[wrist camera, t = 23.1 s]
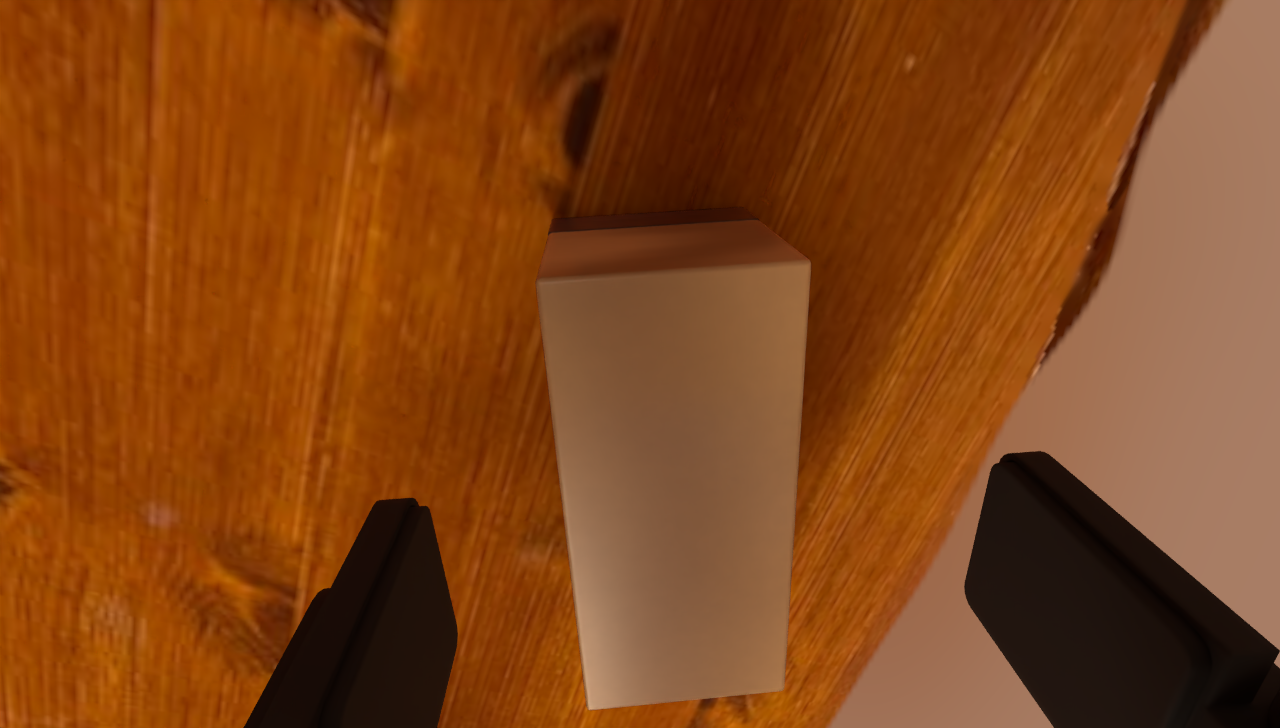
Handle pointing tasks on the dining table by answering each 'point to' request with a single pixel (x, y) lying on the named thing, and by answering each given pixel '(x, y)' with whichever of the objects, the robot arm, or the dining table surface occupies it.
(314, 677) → the robot arm
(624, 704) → the eraser
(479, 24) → the dining table surface
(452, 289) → the dining table surface
